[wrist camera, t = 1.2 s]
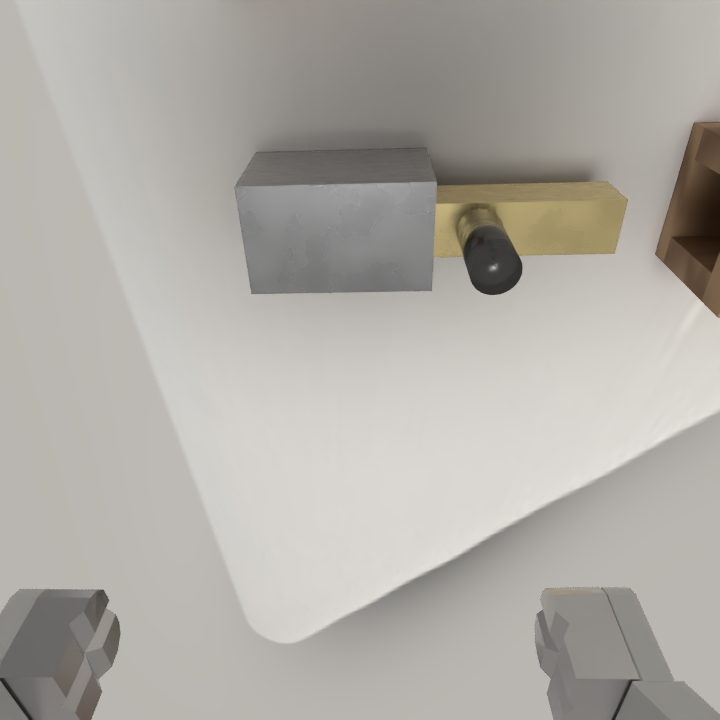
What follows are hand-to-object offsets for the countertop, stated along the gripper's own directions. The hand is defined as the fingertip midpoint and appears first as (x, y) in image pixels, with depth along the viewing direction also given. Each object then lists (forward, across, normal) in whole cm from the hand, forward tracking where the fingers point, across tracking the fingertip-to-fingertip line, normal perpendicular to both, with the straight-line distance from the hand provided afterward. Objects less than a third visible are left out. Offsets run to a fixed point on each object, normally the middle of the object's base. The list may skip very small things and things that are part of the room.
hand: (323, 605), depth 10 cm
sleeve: (+28, +1, +1) cm, 28 cm away
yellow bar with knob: (+26, -4, +1) cm, 26 cm away
